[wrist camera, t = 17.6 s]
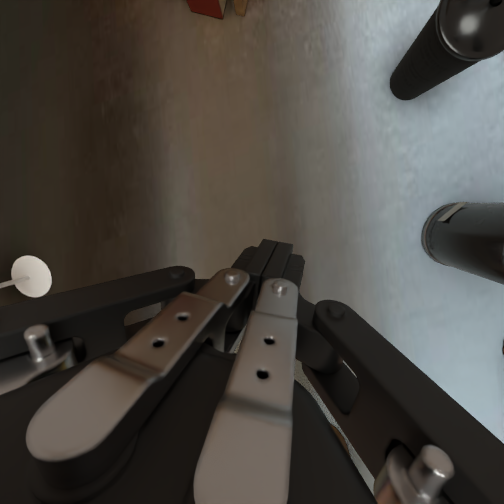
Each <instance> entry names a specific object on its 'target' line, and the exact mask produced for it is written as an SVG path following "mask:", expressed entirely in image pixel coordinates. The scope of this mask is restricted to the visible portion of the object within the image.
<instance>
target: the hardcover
mask: <svg viewBox="0 0 504 504" xmlns="http://www.w3.org/2000/svg"><path fill="white" fill-rule="evenodd" d="M187 3H188V5H189V7H190V10H191V11H193V12H197V13H201V14H205V15H209V16H213V17H217V18H221V19H223V14H224V9H225V5H226V0H187Z"/></svg>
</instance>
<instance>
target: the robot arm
mask: <svg viewBox="0 0 504 504" xmlns="http://www.w3.org/2000/svg"><path fill="white" fill-rule="evenodd" d="M422 243H423V247H424V249H425V251H426V253H427V254H428V255H429V257H430V258H432V259H433V260H434V261H436V262H438V263H440V264H443V265H447V266H451V267H454V268H457V269H460V270H463V271H465V272H468V273H471V274H474V275H477V276H480V277H483V278H486V279H489V280H492V281H495V282H498V283H501V284H504V203H467V202H457V203H451V204H447V205H445V206H443V207H441V208H439V209H437V210H436V211H435V212H434V213H433V214H432V215H431V216H430V217H429V218H428V220H427V221H426V223H425V225H424V228H423V232H422ZM292 251H293V244H289V243H283V242H278V241H272V240H267V239H263V240H262V242H261V243H260V245H259V246H258V247H254V246H251V247H249V248H246V249H244V251H243V252H242V253H241V255H240V256H239V257H238V259H237V260H236V261H235V263H234V264H233V265H232V267H231V268H226V269H222V270H220V271H218V272H217V273H216V274H215V275H214V276H213V277H212V278H211V279H195V272H194V271H193V270H192V269H190V268H188V267H184V266H173V267H168V268H164V269H159V270H155V271H151V272H147V273H142V274H138V275H134V276H130V277H125V278H121V279H117V280H113V281H108V282H104V283H100V284H96V285H91V286H87V287H83V288H79V289H74V290H70V291H66V292H62V293H57V294H53V295H49V296H45V297H40V298H36V299H32V300H28V301H23V302H19V303H15V304H11V305H6V306H2V307H0V504H504V444H503V443H502V442H501V441H500V440H499V439H498V438H497V437H495V436H494V435H493V434H492V433H491V432H490V431H489V430H488V429H486V428H485V427H484V426H483V425H482V424H481V423H480V422H479V421H477V420H476V419H475V418H474V417H473V416H472V415H471V414H470V413H468V412H467V411H466V410H465V409H464V408H463V407H462V406H461V405H459V404H458V403H457V402H456V401H455V400H454V399H453V398H452V397H450V396H449V395H448V394H447V393H446V392H445V391H444V390H443V389H441V388H440V387H439V386H438V385H437V384H436V383H435V382H434V381H432V380H431V379H430V378H429V377H428V376H427V375H426V374H425V373H423V372H422V371H421V370H420V369H419V368H418V367H417V366H416V365H414V364H413V363H412V362H411V361H410V360H409V359H408V358H407V357H405V356H404V355H403V354H402V353H401V352H400V351H399V350H398V349H396V348H395V347H394V346H393V345H392V344H391V343H390V342H389V341H387V340H386V339H385V338H384V337H383V336H382V335H381V334H379V333H378V332H377V331H376V330H375V329H374V328H373V327H372V326H370V325H369V324H368V323H367V322H366V321H365V320H364V319H363V318H361V317H360V316H359V315H358V314H357V313H356V312H355V311H354V310H352V309H351V308H350V307H349V306H347V305H345V304H343V303H341V302H338V301H334V300H323V301H320V302H318V303H317V304H316V305H314V304H312V303H310V302H308V301H307V300H305V299H304V298H303V297H302V296H301V295H300V293H299V290H300V285H301V280H302V275H303V270H304V264H305V260H304V259H303V257H302V256H300V255H295V254H292ZM159 302H161V311H160V312H159V313H158V314H157V315H156V316H155V317H153V318H150V319H147V320H144V321H141V322H138V323H135V324H132V325H129V326H124V318H125V316H126V315H127V314H128V313H129V312H131V311H133V310H136V309H139V308H143V307H146V306H149V305H152V304H156V303H159ZM246 324H247V325H246ZM245 326H246V328H245ZM241 339H242V340H241ZM240 340H241V343H240V346H239V349H238V352H237V354H236V353H234V351H235V349H236V347H237V346H238V344H239V342H240ZM295 359H297V360H299V361H300V362H302V369H303V372H304V374H305V375H306V377H307V378H308V380H309V381H310V383H311V384H312V386H313V387H314V389H315V390H316V392H317V393H318V395H319V396H320V398H321V399H322V401H323V402H324V404H325V405H326V407H327V408H328V410H329V411H330V413H331V414H332V416H333V417H334V419H335V420H336V422H337V423H338V425H339V426H340V428H341V429H342V431H343V432H344V434H345V435H346V437H347V438H348V440H349V441H350V443H351V444H352V446H353V447H354V449H355V450H356V452H357V453H358V455H359V456H360V458H361V459H362V461H363V462H364V464H365V465H366V467H367V468H368V470H369V471H370V473H371V474H372V476H373V477H374V479H375V481H374V490H373V491H374V496H373V494H372V493H371V491H370V489H369V488H368V486H367V484H366V483H365V481H364V479H363V478H362V476H361V474H360V473H359V471H358V469H357V468H356V466H355V464H354V463H353V461H352V459H351V458H350V456H349V454H348V453H347V451H346V449H345V448H344V446H343V444H342V443H341V441H340V439H339V438H338V436H337V435H336V433H335V431H334V430H333V428H332V426H331V425H330V423H329V421H328V420H327V418H326V416H325V415H324V413H323V411H322V410H321V408H320V406H319V405H318V403H317V402H316V400H315V399H314V398H313V396H312V395H311V394H310V393H309V392H308V391H307V390H306V389H305V388H304V387H303V386H302V385H301V384H300V383H299V382H297V381H296V380H294V371H295ZM343 360H344V361H345V362H346V364H347V365H348V366H349V367H350V368H351V369H352V371H353V372H354V373H355V375H356V377H357V378H356V377H355V375H354V374H353V373H352V372H351V371H350V370H349V368H348V367H347V366H346V365H345V364H344V363H343Z"/></svg>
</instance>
